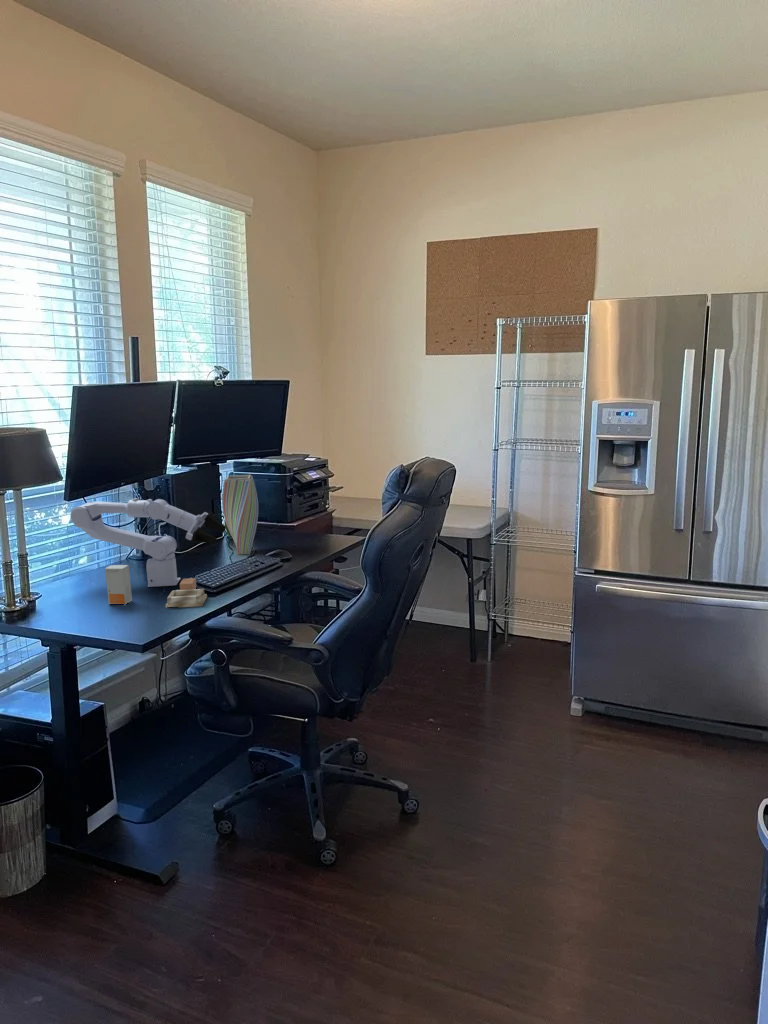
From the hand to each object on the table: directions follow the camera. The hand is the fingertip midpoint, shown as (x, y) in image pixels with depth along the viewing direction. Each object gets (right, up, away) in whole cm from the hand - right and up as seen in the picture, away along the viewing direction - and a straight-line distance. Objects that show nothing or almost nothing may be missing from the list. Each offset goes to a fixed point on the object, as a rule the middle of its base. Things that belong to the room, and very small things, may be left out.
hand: (220, 535), depth 249 cm
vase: (0, -8, +43) cm, 43 cm away
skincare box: (-28, -21, -15) cm, 38 cm away
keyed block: (-8, -19, -8) cm, 22 cm away
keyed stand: (-7, -20, -17) cm, 27 cm away
